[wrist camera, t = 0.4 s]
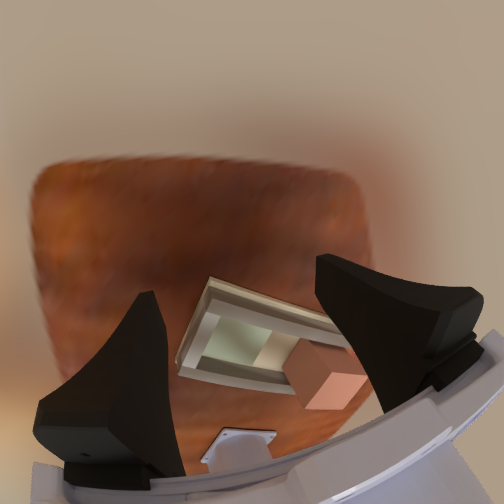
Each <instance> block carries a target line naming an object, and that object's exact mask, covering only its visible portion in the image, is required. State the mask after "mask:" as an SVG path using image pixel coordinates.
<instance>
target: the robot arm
mask: <svg viewBox="0 0 504 504" xmlns="http://www.w3.org/2000/svg"><path fill="white" fill-rule="evenodd" d="M315 295H316V297H317V298H318V300H319V302H320V304H321V306H322V307H323V309H324V311H325V312H326V314H327V315H328V316H329V318H330V319H331V320H332V322H333V323H334V324H335V325H336V327H337V328H338V329H339V331H340V332H341V333H342V335H343V336H344V337H345V339H346V340H347V341H348V343H349V344H350V346H351V347H352V348H353V350H354V352H355V353H356V355H357V357H358V359H359V360H360V362H361V364H362V366H363V368H364V370H365V372H366V374H367V376H368V378H369V379H370V382H371V384H372V386H373V388H374V390H375V393H376V395H377V397H378V399H379V402H380V405H381V407H382V410H383V412H384V415H382V416H380V417H378V418H376V419H374V420H372V421H370V422H368V423H366V424H364V425H362V426H360V427H358V428H356V429H353V430H351V431H349V432H347V433H345V434H342V435H340V436H338V437H335V438H333V439H330V440H328V441H325V442H323V443H320V444H318V445H315V446H312V447H310V448H307V449H304V450H301V451H298V452H295V453H292V454H289V455H286V456H282V457H279V458H276V459H273V458H272V456H271V453H270V451H269V449H268V446H267V445H268V444H269V443H270V442H271V441H272V440H273V438H274V437H275V436H276V435H277V433H276V431H256V430H241V429H230V428H225V429H223V430H222V431H221V433H220V434H219V435H218V437H217V438H216V440H215V441H214V442H213V444H212V445H211V446H210V448H209V449H208V450H207V452H206V453H205V455H204V456H203V457H202V458H201V462H202V463H207V465H208V470H209V473H207V474H201V475H193V476H186V474H185V470H184V467H183V463H182V460H181V456H180V452H179V448H178V444H177V440H176V435H175V430H174V425H173V420H172V414H171V408H170V402H169V390H168V341H167V332H166V326H165V323H164V321H163V318H162V315H161V312H160V309H159V307H158V304H157V301H156V298H155V295H154V292H153V291H148V292H143V293H139V295H138V296H137V298H136V299H135V301H134V302H133V304H132V305H131V307H130V309H129V310H128V312H127V313H126V315H125V316H124V318H123V320H122V321H121V323H120V324H119V325H118V327H117V328H116V330H115V331H114V332H113V334H112V335H111V337H110V338H109V339H108V341H107V342H106V343H105V344H104V346H103V347H102V348H101V349H100V350H99V351H98V353H97V354H96V355H95V356H94V357H93V358H92V359H91V360H90V361H89V362H88V363H87V364H86V365H85V366H84V367H83V368H82V369H81V370H80V371H79V372H78V373H76V374H75V375H74V376H73V377H72V378H71V379H69V380H68V381H67V382H66V383H64V384H63V385H62V386H60V387H59V388H58V389H56V390H55V391H53V392H52V393H50V394H49V395H47V396H46V397H44V398H43V399H41V400H40V401H39V404H38V408H37V412H36V417H35V422H34V426H33V434H34V436H35V437H36V439H37V440H38V442H39V443H40V444H42V445H43V446H44V447H45V448H46V449H48V450H49V451H50V452H52V453H53V454H54V455H56V456H57V457H59V458H60V459H61V460H63V461H64V462H65V464H64V469H63V468H61V467H58V466H54V465H48V464H43V463H38V462H34V463H33V468H32V480H31V504H494V503H493V502H492V500H491V498H490V497H489V496H488V494H487V493H486V491H485V489H484V488H483V486H482V485H481V483H480V482H479V481H478V479H477V478H476V476H475V475H474V473H473V472H472V470H471V469H470V468H469V466H468V465H467V463H466V462H465V460H464V459H463V458H462V456H461V455H460V454H459V452H458V451H457V449H456V448H455V446H454V445H453V444H452V441H453V440H455V439H456V438H457V437H458V436H459V435H460V434H461V433H462V432H463V431H465V430H466V429H467V428H468V427H469V426H470V425H471V424H472V423H473V422H474V421H475V420H476V419H477V418H478V417H479V416H480V415H481V414H482V413H483V412H484V411H485V410H486V409H487V408H488V407H489V406H490V405H491V404H492V402H493V401H494V400H495V399H496V398H497V397H498V396H499V395H500V394H501V392H502V391H503V390H504V337H503V336H502V335H501V334H499V333H498V332H497V331H496V330H495V329H492V330H491V331H490V332H489V333H488V334H487V335H486V336H485V337H483V339H482V340H481V341H480V342H479V344H478V343H477V342H476V341H475V339H476V337H477V335H476V334H475V333H474V332H473V331H472V330H473V328H474V326H475V324H476V322H477V320H478V318H479V316H480V313H481V311H482V307H483V304H484V298H483V296H482V295H481V294H480V293H479V292H478V291H476V290H475V289H474V288H472V287H446V286H435V285H427V284H421V283H416V282H411V281H406V280H403V279H399V278H395V277H391V276H388V275H385V274H382V273H379V272H376V271H374V270H371V269H368V268H366V267H363V266H361V265H358V264H356V263H353V262H351V261H348V260H346V259H343V258H340V257H338V256H335V255H332V254H324V255H319V256H316V278H315Z"/></svg>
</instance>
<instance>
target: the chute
mask: <svg viewBox="0 0 504 504" xmlns="http://www.w3.org/2000/svg"><path fill="white" fill-rule="evenodd" d="M300 338H304V339H309V340H313V341H317V342H322V343H326V344H331V345H336V346H340V347H345V348H350V349H353V348H352V347H351V346H350V344H349V343H348V341H347V340H346V339H345V337H344V336H343V335H342V333H341V332H340V331H339V329H338V328H337V327H336V325H335V324H334V323H333V322H332V320H331V319H330V318H329V316H328V315H325V314H322V313H319V312H316V311H312V310H309V309H306V308H303V307H300V306H297V305H293V304H290V303H287V302H284V301H281V300H278V299H275V298H272V297H269V296H266V295H263V294H260V293H257V292H254V291H251V290H248V289H245V288H242V287H239V286H236V285H234V284H231V283H228V282H225V281H222V280H219V279H216V278H214V277H211V276H210V277H209V280H208V282H207V284H206V286H205V289H204V291H203V293H202V295H201V298H200V300H199V302H198V305H197V307H196V309H195V311H194V314H193V316H192V318H191V321H190V323H189V325H188V328H187V330H186V332H185V335H184V337H183V339H182V342H181V344H180V347H179V349H178V351H177V354H176V356H175V363H177V372H178V375H179V376H183V377H188V378H192V379H196V380H201V381H206V382H211V383H216V384H221V385H227V386H232V387H238V388H244V389H251V390H258V391H266V392H274V393H283V394H293V395H296V393H295V392H294V390H293V388H292V386H291V384H290V382H289V381H288V379H287V377H286V375H285V373H284V371H283V370H282V367H283V365H284V364H285V362H286V361H287V359H288V357H289V356H290V354H291V353H292V351H293V350H294V348H295V346H296V345H297V343H298V341H299V340H300Z"/></svg>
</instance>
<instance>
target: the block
mask: <svg viewBox="0 0 504 504" xmlns="http://www.w3.org/2000/svg"><path fill="white" fill-rule="evenodd" d="M282 370H283V371H284V373H285V375H286V377H287V379H288V381H289V382H290V384H291V386H292V388H293V390H294V392H295V393H296V395H297V397H298V399H299V401H300V402H301V404H302V406H303V408H304V409H343V408H344V407H345V406H346V405H347V403H348V402H349V401H350V400H351V399H352V397H353V396H354V395H355V394H356V392H357V391H358V390H359V388H360V387H361V386H362V385H363V383H364V382H365V381H366V379H367V378H368V376H367V374H366V372H365V371H364V370H363V369H362V367H361V366H360V365H359V364H358V363H357V362H356V361H355V360H354V358H353V357H352V356H351V355H350V354H349V353H348V352H347V351H346V349H345V348H344V347H340V346H336V345H331V344H326V343H322V342H317V341H313V340H309V339H304V338H300V340H299V341H298V343H297V345H296V346H295V348H294V350H293V351H292V353H291V354H290V356H289V357H288V359H287V361H286V362H285V364H284V365H283V367H282Z"/></svg>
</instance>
